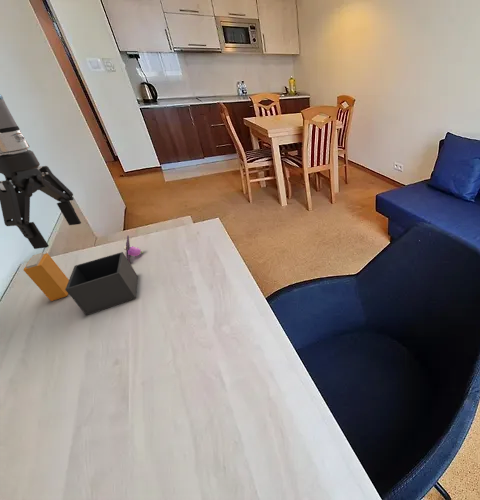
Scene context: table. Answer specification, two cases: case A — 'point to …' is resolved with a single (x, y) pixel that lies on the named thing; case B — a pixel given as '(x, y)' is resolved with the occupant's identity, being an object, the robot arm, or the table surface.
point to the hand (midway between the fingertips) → (59, 235)
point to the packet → (47, 276)
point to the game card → (131, 250)
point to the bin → (102, 283)
